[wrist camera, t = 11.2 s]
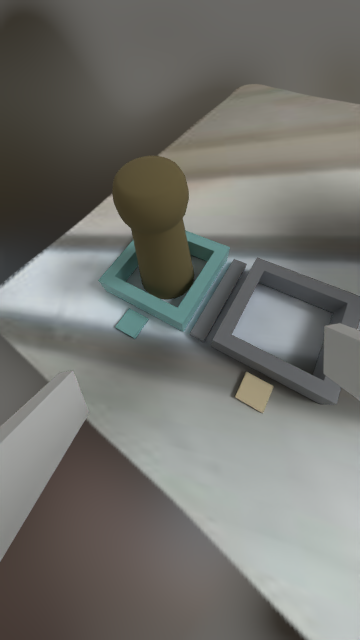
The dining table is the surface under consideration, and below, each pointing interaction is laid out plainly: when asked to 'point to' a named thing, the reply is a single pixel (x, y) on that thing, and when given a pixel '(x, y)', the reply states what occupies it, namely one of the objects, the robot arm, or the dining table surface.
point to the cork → (156, 222)
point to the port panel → (237, 315)
